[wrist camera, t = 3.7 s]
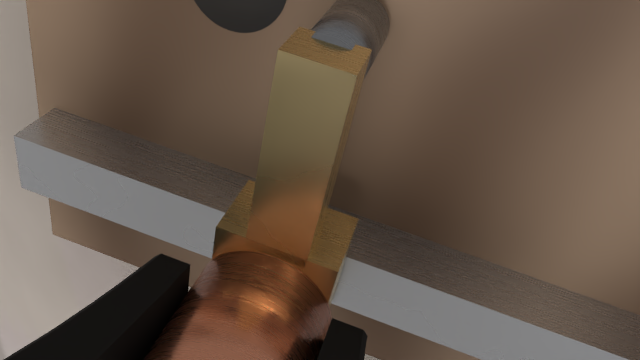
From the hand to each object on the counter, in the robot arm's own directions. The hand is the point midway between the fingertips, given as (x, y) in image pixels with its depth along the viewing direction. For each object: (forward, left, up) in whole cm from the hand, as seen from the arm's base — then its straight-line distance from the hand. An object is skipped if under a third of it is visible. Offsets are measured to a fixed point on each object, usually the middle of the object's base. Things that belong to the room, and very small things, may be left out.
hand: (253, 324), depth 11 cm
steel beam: (-3, +1, -4) cm, 5 cm away
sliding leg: (0, -2, -4) cm, 4 cm away
